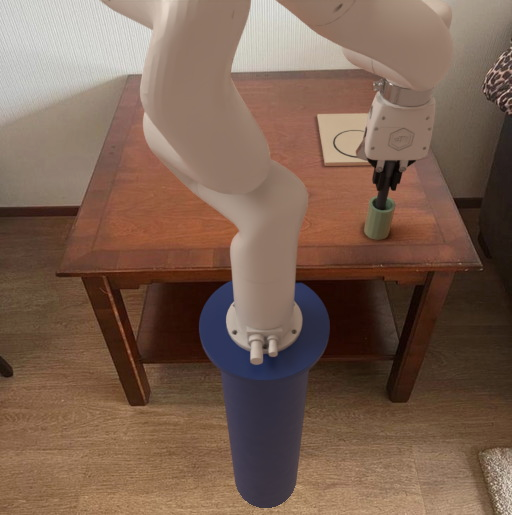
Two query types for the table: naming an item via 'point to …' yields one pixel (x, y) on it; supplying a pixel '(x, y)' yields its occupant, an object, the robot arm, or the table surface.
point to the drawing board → (342, 138)
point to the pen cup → (379, 219)
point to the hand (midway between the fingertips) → (384, 185)
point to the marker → (385, 185)
